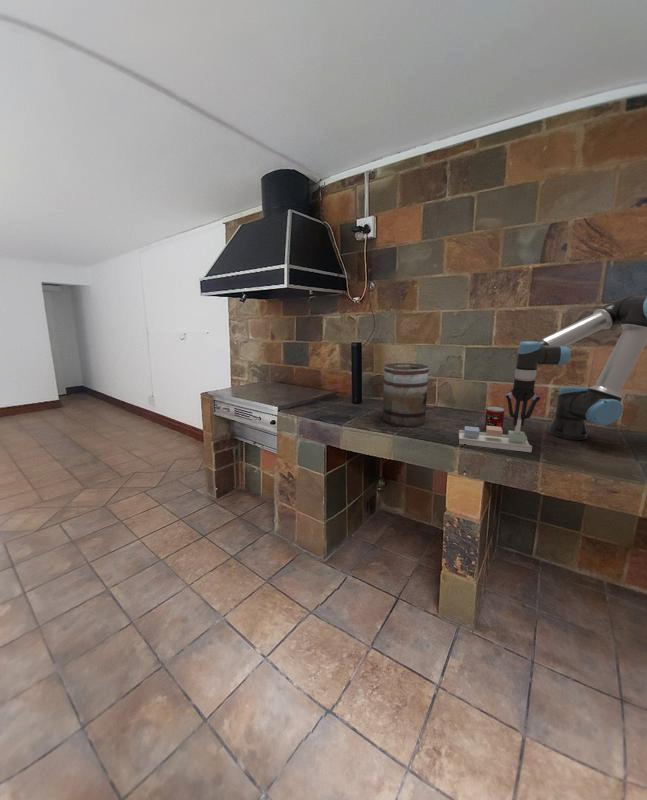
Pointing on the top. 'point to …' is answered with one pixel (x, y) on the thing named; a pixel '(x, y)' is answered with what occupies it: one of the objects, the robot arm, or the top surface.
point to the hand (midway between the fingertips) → (517, 432)
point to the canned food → (494, 417)
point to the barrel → (405, 394)
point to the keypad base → (494, 442)
